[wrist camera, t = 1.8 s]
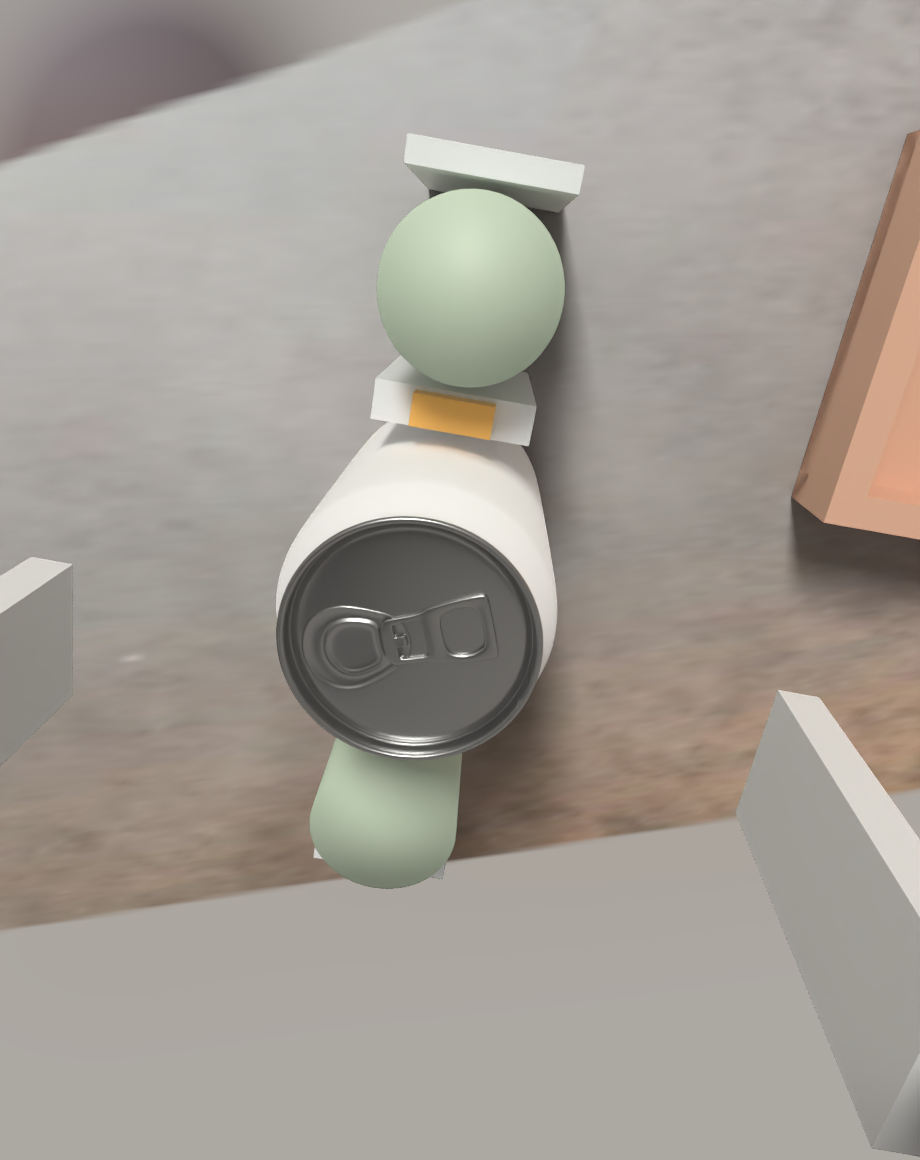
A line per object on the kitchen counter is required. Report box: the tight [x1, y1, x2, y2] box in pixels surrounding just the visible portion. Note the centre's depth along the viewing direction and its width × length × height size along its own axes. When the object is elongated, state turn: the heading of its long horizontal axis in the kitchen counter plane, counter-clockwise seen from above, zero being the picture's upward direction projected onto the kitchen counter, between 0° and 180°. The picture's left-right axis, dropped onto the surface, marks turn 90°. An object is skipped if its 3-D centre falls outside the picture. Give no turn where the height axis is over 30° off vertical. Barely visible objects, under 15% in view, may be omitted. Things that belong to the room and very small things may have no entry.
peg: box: [310, 738, 462, 889], centre depth 27 cm, size 4×4×9 cm
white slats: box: [314, 133, 585, 879], centre depth 25 cm, size 4×20×8 cm, turn 171°
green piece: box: [377, 189, 565, 388], centre depth 22 cm, size 4×4×9 cm
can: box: [276, 422, 557, 761], centre depth 23 cm, size 6×6×12 cm
